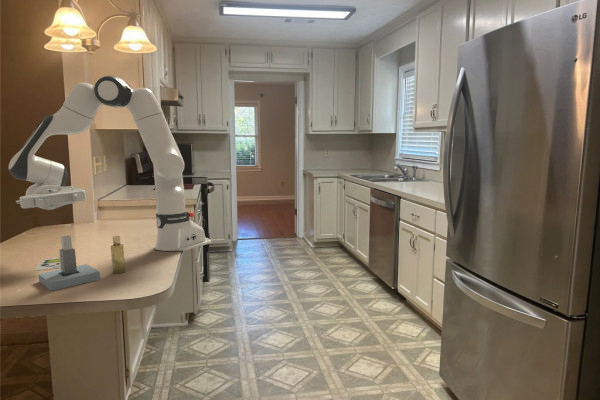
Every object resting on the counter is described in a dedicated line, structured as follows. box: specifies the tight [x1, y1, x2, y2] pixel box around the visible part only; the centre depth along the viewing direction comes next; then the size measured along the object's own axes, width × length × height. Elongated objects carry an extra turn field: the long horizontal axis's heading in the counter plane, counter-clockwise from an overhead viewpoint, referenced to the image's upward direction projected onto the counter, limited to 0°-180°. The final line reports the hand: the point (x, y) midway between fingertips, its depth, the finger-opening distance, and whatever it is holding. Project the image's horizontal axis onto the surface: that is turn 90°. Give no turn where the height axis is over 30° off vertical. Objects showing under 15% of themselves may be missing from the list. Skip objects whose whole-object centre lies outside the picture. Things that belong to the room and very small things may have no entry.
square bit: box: [59, 235, 77, 276], centre depth 131 cm, size 3×3×14 cm
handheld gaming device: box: [33, 257, 61, 272], centre depth 151 cm, size 9×1×15 cm
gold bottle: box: [110, 235, 126, 275], centre depth 139 cm, size 4×4×12 cm
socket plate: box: [38, 263, 101, 292], centre depth 132 cm, size 14×12×2 cm
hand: (60, 200), depth 143 cm, fingers open, 8 cm apart
